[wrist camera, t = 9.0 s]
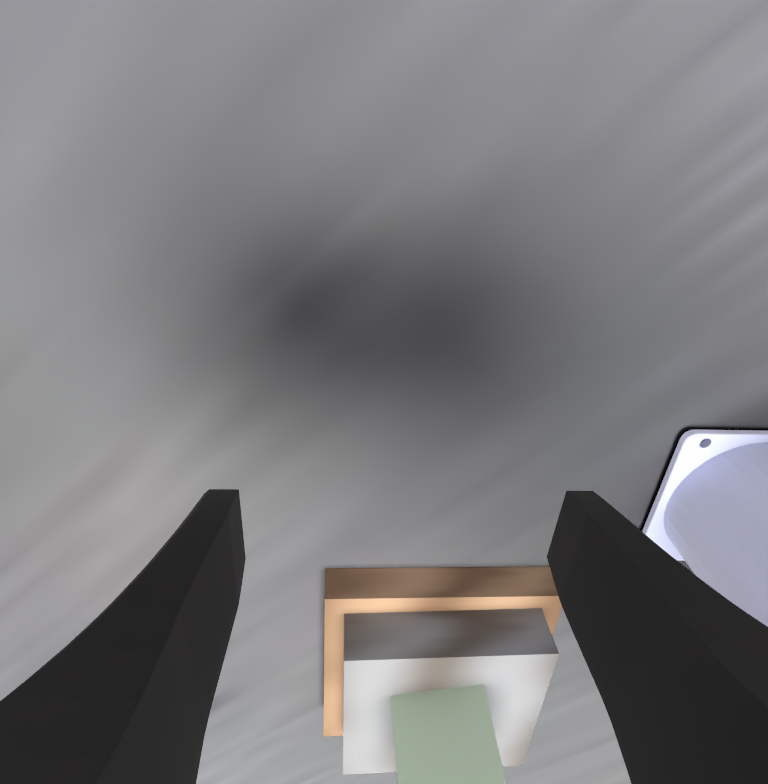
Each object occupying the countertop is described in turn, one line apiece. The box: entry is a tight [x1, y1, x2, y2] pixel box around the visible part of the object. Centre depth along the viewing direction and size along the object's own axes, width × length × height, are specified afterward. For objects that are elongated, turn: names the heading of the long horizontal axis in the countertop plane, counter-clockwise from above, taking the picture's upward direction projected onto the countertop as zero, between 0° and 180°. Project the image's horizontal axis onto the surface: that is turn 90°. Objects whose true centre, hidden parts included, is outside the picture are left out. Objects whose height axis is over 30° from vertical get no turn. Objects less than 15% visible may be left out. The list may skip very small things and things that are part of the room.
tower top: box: [343, 608, 559, 774], centre depth 28 cm, size 10×10×2 cm
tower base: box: [324, 567, 562, 736], centre depth 30 cm, size 12×12×2 cm
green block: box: [391, 684, 507, 784], centre depth 24 cm, size 4×4×6 cm
